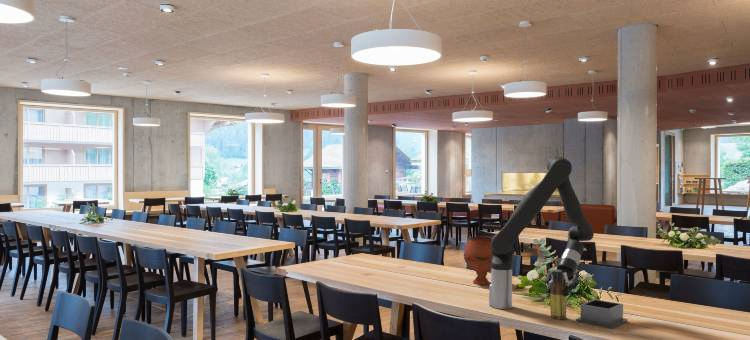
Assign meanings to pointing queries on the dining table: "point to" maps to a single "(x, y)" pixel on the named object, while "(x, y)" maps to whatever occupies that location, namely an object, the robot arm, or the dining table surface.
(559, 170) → the robot arm
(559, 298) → the sauce bottle
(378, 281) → the dining table surface
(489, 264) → the goblet
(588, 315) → the box
